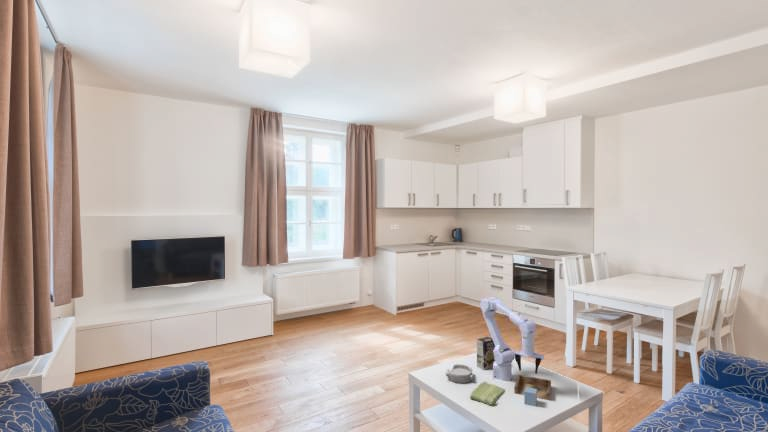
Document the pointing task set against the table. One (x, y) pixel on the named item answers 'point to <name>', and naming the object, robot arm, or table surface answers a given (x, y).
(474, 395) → the washcloth
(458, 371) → the dish
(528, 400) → the slate block
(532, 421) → the table surface
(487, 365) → the coffee box
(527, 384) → the walnut crate
